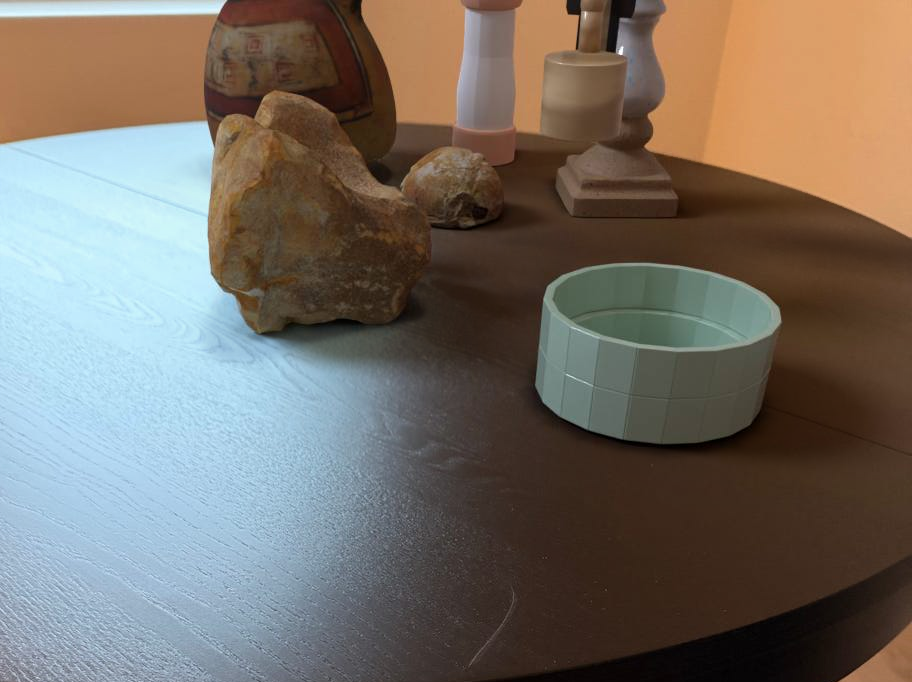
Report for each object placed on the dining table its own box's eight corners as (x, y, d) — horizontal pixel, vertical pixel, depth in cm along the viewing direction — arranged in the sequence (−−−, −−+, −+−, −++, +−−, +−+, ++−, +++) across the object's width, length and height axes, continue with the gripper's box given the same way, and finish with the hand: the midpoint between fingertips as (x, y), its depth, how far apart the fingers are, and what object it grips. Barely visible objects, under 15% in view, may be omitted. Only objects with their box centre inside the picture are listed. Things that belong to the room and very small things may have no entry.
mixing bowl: (752, 368, 76) (774, 273, 72) (762, 467, 65) (789, 362, 60) (548, 347, 79) (557, 254, 74) (522, 440, 67) (531, 336, 62)
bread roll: (427, 268, 101) (450, 200, 95) (374, 197, 104) (393, 126, 98) (504, 250, 106) (532, 184, 99) (452, 182, 109) (475, 114, 102)
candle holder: (653, 186, 113) (693, -79, 98) (677, 217, 104) (725, -68, 89) (553, 185, 112) (578, -82, 97) (570, 217, 104) (601, -71, 89)
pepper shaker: (492, 147, 124) (503, -43, 112) (526, 162, 119) (541, -35, 107) (440, 153, 121) (445, -41, 109) (472, 169, 117) (481, -32, 105)
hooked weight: (617, 144, 75) (633, 1, 69) (535, 140, 76) (544, -2, 70) (630, 83, 92) (644, -36, 86) (563, 80, 93) (572, -38, 87)
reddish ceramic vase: (210, 151, 120) (176, -178, 101) (382, 148, 123) (380, -172, 104) (213, 202, 105) (174, -173, 86) (409, 196, 108) (413, -167, 89)
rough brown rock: (412, 384, 75) (436, 164, 66) (184, 355, 74) (176, 129, 65) (432, 280, 93) (452, 97, 84) (249, 256, 93) (250, 70, 84)
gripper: (743, -313, 74) (684, 59, 89) (537, -317, 76) (513, 48, 91) (748, -323, 68) (683, 76, 83) (525, -327, 70) (501, 64, 85)
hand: (594, 61), depth 87 cm, fingers closed on hooked weight, 2 cm apart
